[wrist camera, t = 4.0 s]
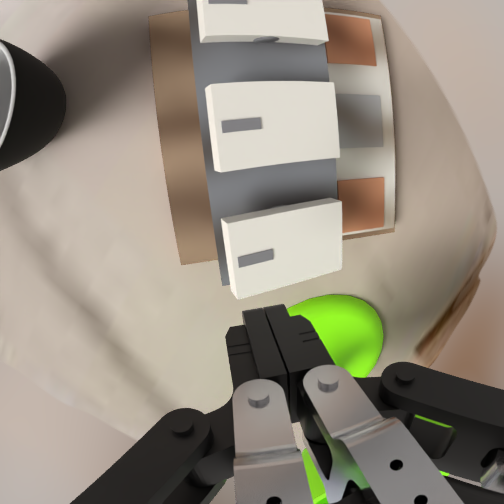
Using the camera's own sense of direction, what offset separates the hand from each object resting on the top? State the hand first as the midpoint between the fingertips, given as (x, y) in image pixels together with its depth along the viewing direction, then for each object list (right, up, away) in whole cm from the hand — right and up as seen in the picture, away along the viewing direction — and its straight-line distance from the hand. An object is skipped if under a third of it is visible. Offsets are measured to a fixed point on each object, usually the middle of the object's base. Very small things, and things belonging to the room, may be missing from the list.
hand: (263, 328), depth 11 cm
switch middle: (+1, +10, +4) cm, 11 cm away
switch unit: (+2, +13, +12) cm, 18 cm away
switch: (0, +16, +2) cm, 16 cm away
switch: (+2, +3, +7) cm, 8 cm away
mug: (-20, +13, +9) cm, 25 cm away
